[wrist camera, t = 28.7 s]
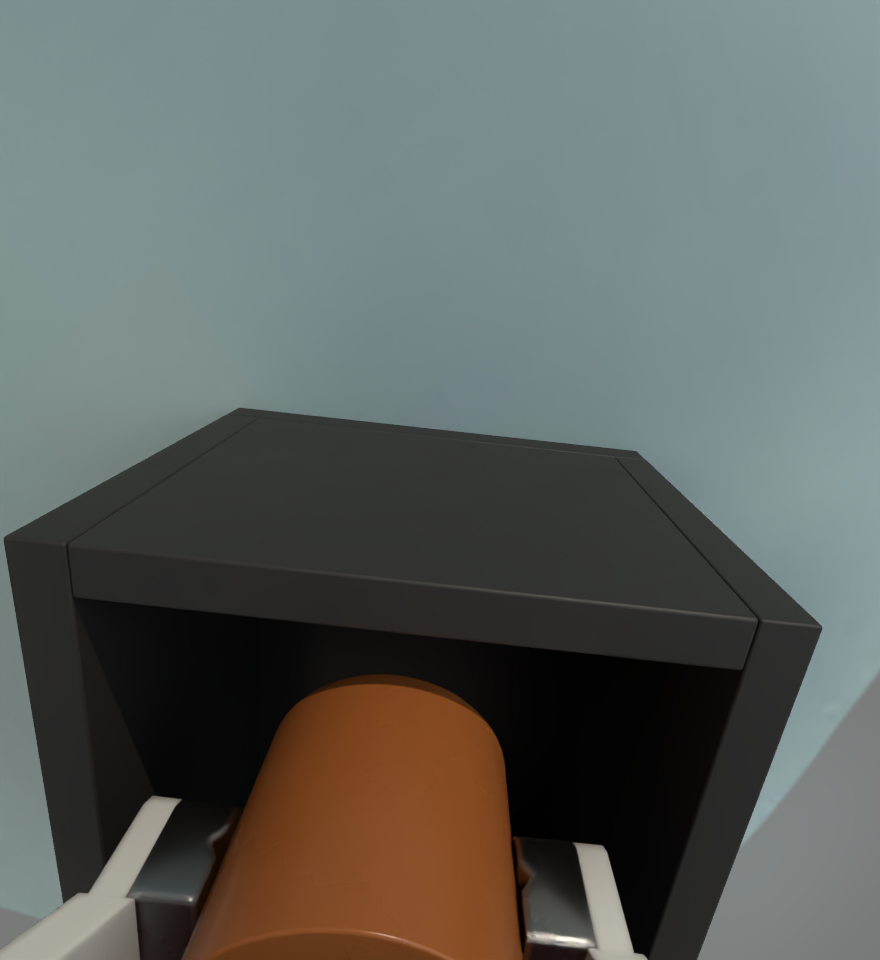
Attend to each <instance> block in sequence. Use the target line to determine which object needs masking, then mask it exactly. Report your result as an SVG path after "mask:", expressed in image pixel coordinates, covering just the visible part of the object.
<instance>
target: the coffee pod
mask: <svg viewBox="0 0 880 960" xmlns="http://www.w3.org/2000/svg"><path fill="white" fill-rule="evenodd" d="M181 960H523V956H522V945H521V934H520V923H519V913H518V902H517V891H516V880H515V870H514V859H513V848H512V837H511V827H510V816H509V805H508V794H507V784H506V773H505V762H504V758H503V754H502V749H501V747H500V745H499V742H498V740H497V737H496V736H495V734H494V732H493V731H492V729H491V728H490V726H489V725H488V723H487V722H486V721H485V720H484V718H483V717H482V716H481V715H480V714H479V713H478V712H477V711H476V710H475V709H474V708H473V707H472V706H471V705H470V704H468V703H467V702H466V701H464V700H463V699H461V698H460V697H459V696H457V695H455V694H454V693H452V692H450V691H448V690H446V689H444V688H442V687H440V686H438V685H435V684H433V683H430V682H427V681H424V680H420V679H417V678H413V677H407V676H401V675H393V674H367V675H359V676H353V677H348V678H345V679H341V680H338V681H334V682H332V683H330V684H327V685H325V686H323V687H320V688H319V689H317V690H315V691H313V692H312V693H310V694H308V695H307V696H306V697H304V698H303V699H302V700H301V701H299V702H298V703H297V704H296V705H295V706H294V707H293V708H292V709H291V710H290V711H289V712H288V713H287V714H286V716H285V717H284V719H283V720H282V722H281V723H280V725H279V727H278V729H277V731H276V733H275V736H274V738H273V740H272V743H271V745H270V748H269V750H268V752H267V755H266V757H265V760H264V762H263V764H262V767H261V769H260V772H259V774H258V776H257V779H256V781H255V784H254V786H253V788H252V791H251V793H250V796H249V798H248V800H247V803H246V805H245V808H244V810H243V812H242V815H241V817H240V820H239V822H238V824H237V827H236V829H235V832H234V834H233V837H232V839H231V841H230V844H229V846H228V849H227V851H226V853H225V856H224V858H223V861H222V863H221V865H220V868H219V870H218V873H217V875H216V877H215V880H214V882H213V885H212V887H211V889H210V892H209V894H208V897H207V899H206V901H205V904H204V906H203V909H202V911H201V913H200V916H199V918H198V921H197V923H196V925H195V928H194V930H193V933H192V935H191V937H190V940H189V942H188V945H187V947H186V949H185V952H184V954H183V957H182V959H181Z"/></svg>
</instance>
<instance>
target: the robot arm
mask: <svg viewBox="0 0 880 960" xmlns="http://www.w3.org/2000/svg"><path fill="white" fill-rule="evenodd" d="M242 812H243V808H241V807H234V806H227V805H220V804H213V803H206V802H199V801H192V800H185V799H176V798H168V797H160V796H152V797H151V798H149V799H148V800H147V801H146V802H145V803H144V804H143V805H142V807H141V809H140V810H139V812H138V814H137V815H136V817H135V818H134V820H133V822H132V823H131V825H130V827H129V828H128V830H127V831H126V833H125V835H124V836H123V838H122V840H121V841H120V843H119V844H118V846H117V848H116V849H115V851H114V852H113V854H112V856H111V857H110V859H109V861H108V862H107V864H106V865H105V867H104V869H103V870H102V872H101V874H100V875H99V877H98V878H97V880H96V882H95V883H94V885H93V887H92V888H91V890H90V891H89V893H78V894H76V895H75V896H73V897H72V898H71V899H69V900H68V901H66V902H65V903H64V904H62V905H61V906H60V907H58V908H57V909H55V910H54V911H53V912H51V913H50V914H49V915H47V916H46V917H44V918H43V919H42V920H40V921H39V922H38V923H36V924H35V925H33V926H32V927H31V928H29V929H28V930H27V931H25V932H24V933H22V934H21V935H20V936H18V937H17V938H16V939H14V940H13V941H11V942H10V943H9V944H7V945H6V946H4V947H3V948H2V949H0V960H181V959H182V957H183V954H184V952H185V949H186V947H187V945H188V942H189V940H190V937H191V935H192V933H193V930H194V928H195V925H196V923H197V921H198V918H199V916H200V913H201V911H202V909H203V906H204V904H205V901H206V899H207V897H208V894H209V892H210V889H211V887H212V885H213V882H214V880H215V877H216V875H217V873H218V870H219V868H220V865H221V863H222V861H223V858H224V856H225V853H226V851H227V849H228V846H229V844H230V841H231V839H232V837H233V834H234V832H235V829H236V827H237V824H238V822H239V820H240V817H241V815H242ZM512 848H513V859H514V870H515V880H516V891H517V902H518V913H519V923H520V934H521V945H522V956H523V960H648V959H647V958H646V957H645V955H644V954H638V953H634V951H633V947H632V943H631V940H630V936H629V932H628V928H627V925H626V921H625V917H624V913H623V910H622V906H621V902H620V898H619V895H618V891H617V887H616V883H615V880H614V876H613V872H612V868H611V865H610V861H609V857H608V853H607V851H606V850H605V848H604V847H603V846H602V845H593V844H584V843H574V842H573V843H572V842H571V841H562V840H551V839H540V838H530V837H519V836H514V837H513V839H512Z"/></svg>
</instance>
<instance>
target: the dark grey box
mask: <svg viewBox="0 0 880 960" xmlns="http://www.w3.org/2000/svg"><path fill="white" fill-rule="evenodd" d="M4 545H5V551H6V557H7V563H8V569H9V575H10V581H11V587H12V594H13V600H14V606H15V612H16V618H17V624H18V630H19V636H20V642H21V648H22V654H23V660H24V667H25V673H26V679H27V685H28V691H29V697H30V703H31V709H32V715H33V721H34V727H35V734H36V740H37V746H38V752H39V758H40V764H41V770H42V776H43V782H44V788H45V794H46V800H47V807H48V813H49V819H50V825H51V831H52V837H53V843H54V849H55V855H56V861H57V867H58V873H59V880H60V886H61V892H62V898H63V904H64V903H65V902H66V901H68V900H69V899H71V898H72V897H73V896H75V895H76V894H78V893H89V891H90V890H91V888H92V887H93V885H94V883H95V882H96V880H97V878H98V877H99V875H100V874H101V872H102V870H103V869H104V867H105V865H106V864H107V862H108V861H109V859H110V857H111V856H112V854H113V852H114V851H115V849H116V848H117V846H118V844H119V843H120V841H121V840H122V838H123V836H124V835H125V833H126V831H127V830H128V828H129V827H130V825H131V823H132V822H133V820H134V818H135V817H136V815H137V814H138V812H139V810H140V809H141V807H142V805H143V804H144V803H145V802H146V801H147V800H148V799H149V798H151V797H152V796H160V797H168V798H176V799H185V800H192V801H199V802H206V803H213V804H220V805H227V806H234V807H241V808H243V810H244V808H245V805H246V803H247V800H248V798H249V796H250V793H251V791H252V788H253V786H254V784H255V781H256V779H257V776H258V774H259V772H260V769H261V767H262V764H263V762H264V760H265V757H266V755H267V752H268V750H269V748H270V745H271V743H272V740H273V738H274V736H275V733H276V731H277V729H278V727H279V725H280V723H281V722H282V720H283V719H284V717H285V716H286V714H287V713H288V712H289V711H290V710H291V709H292V708H293V707H294V706H295V705H296V704H297V703H298V702H299V701H301V700H302V699H303V698H304V697H306V696H307V695H308V694H310V693H312V692H313V691H315V690H317V689H319V688H320V687H323V686H325V685H327V684H330V683H332V682H334V681H338V680H341V679H345V678H348V677H353V676H359V675H367V674H393V675H401V676H407V677H413V678H417V679H420V680H424V681H427V682H430V683H433V684H435V685H438V686H440V687H442V688H444V689H446V690H448V691H450V692H452V693H454V694H455V695H457V696H459V697H460V698H461V699H463V700H464V701H466V702H467V703H468V704H470V705H471V706H472V707H473V708H474V709H475V710H476V711H477V712H478V713H479V714H480V715H481V716H482V717H483V718H484V720H485V721H486V722H487V723H488V725H489V726H490V728H491V729H492V731H493V732H494V734H495V736H496V737H497V740H498V742H499V745H500V747H501V749H502V754H503V758H504V762H505V773H506V784H507V794H508V805H509V816H510V827H511V837H512V839H513V837H514V836H519V837H530V838H540V839H551V840H562V841H571V842H572V843H573V842H574V843H584V844H593V845H602V846H603V847H604V848H605V850H606V851H607V853H608V857H609V861H610V865H611V868H612V872H613V876H614V880H615V883H616V887H617V891H618V895H619V898H620V902H621V906H622V910H623V913H624V917H625V921H626V925H627V928H628V932H629V936H630V940H631V943H632V947H633V951H634V953H638V954H644V955H645V957H646V958H647V959H648V960H697V958H698V955H699V952H700V950H701V948H702V945H703V942H704V940H705V937H706V934H707V932H708V929H709V926H710V924H711V921H712V918H713V916H714V913H715V910H716V908H717V905H718V903H719V900H720V897H721V895H722V892H723V889H724V887H725V884H726V882H727V879H728V876H729V874H730V871H731V868H732V866H733V863H734V860H735V858H736V855H737V853H738V850H739V847H740V845H741V842H742V839H743V837H744V834H745V831H746V829H747V826H748V823H749V821H750V818H751V816H752V813H753V810H754V808H755V805H756V802H757V800H758V797H759V794H760V792H761V789H762V786H763V784H764V781H765V779H766V776H767V773H768V771H769V768H770V765H771V763H772V760H773V757H774V755H775V752H776V750H777V747H778V744H779V742H780V739H781V736H782V734H783V731H784V728H785V726H786V723H787V720H788V718H789V715H790V713H791V710H792V707H793V705H794V702H795V699H796V697H797V694H798V691H799V689H800V686H801V684H802V681H803V678H804V676H805V673H806V670H807V668H808V665H809V662H810V660H811V657H812V654H813V652H814V649H815V647H816V644H817V641H818V639H819V636H820V633H821V631H822V626H821V625H820V624H819V623H818V622H817V621H816V620H815V619H814V618H813V617H812V616H811V615H810V614H809V613H807V612H806V611H805V610H804V609H803V608H802V607H801V606H800V605H799V604H798V603H797V602H796V601H795V600H794V599H793V598H792V597H790V596H789V595H788V594H787V593H786V592H785V591H784V590H783V589H782V588H781V587H780V586H779V585H778V584H777V583H776V582H775V581H774V580H772V579H771V578H770V577H769V576H768V575H767V574H766V573H765V572H764V571H763V570H762V569H761V568H760V567H759V566H758V565H757V564H756V563H754V562H753V561H752V560H751V559H750V558H749V557H748V556H747V555H746V554H745V553H744V552H743V551H742V550H741V549H740V548H739V547H737V546H736V545H735V544H734V543H733V542H732V541H731V540H730V539H729V538H728V537H727V536H726V535H725V534H724V533H723V532H722V531H721V530H719V529H718V528H717V527H716V526H715V525H714V524H713V523H712V522H711V521H710V520H709V519H708V518H707V517H706V516H705V515H704V514H703V513H701V512H700V511H699V510H698V509H697V508H696V507H695V506H694V505H693V504H692V503H691V502H690V501H689V500H688V499H687V498H686V497H684V496H683V495H682V494H681V493H680V492H679V491H678V490H677V489H676V488H675V487H674V486H673V485H672V484H671V483H670V482H669V481H668V480H666V479H665V478H664V477H663V476H662V475H661V474H660V473H659V472H658V471H657V470H656V469H655V468H654V467H653V466H652V465H651V464H650V463H648V462H647V461H646V460H645V459H644V458H643V457H642V456H641V455H640V454H639V453H638V452H636V451H628V450H619V449H610V448H601V447H591V446H582V445H573V444H564V443H555V442H546V441H537V440H527V439H518V438H509V437H500V436H491V435H482V434H473V433H464V432H454V431H445V430H436V429H427V428H418V427H409V426H400V425H390V424H381V423H372V422H363V421H354V420H345V419H336V418H327V417H317V416H308V415H299V414H290V413H281V412H272V411H263V410H253V409H244V408H238V409H236V410H234V411H233V412H231V413H229V414H228V415H225V416H223V417H222V418H220V419H218V420H216V421H214V422H212V423H211V424H209V425H207V426H205V427H203V428H201V429H200V430H198V431H196V432H194V433H192V434H191V435H189V436H187V437H185V438H183V439H181V440H180V441H178V442H176V443H174V444H172V445H171V446H169V447H167V448H165V449H163V450H161V451H160V452H158V453H156V454H154V455H152V456H151V457H149V458H147V459H145V460H143V461H141V462H140V463H138V464H136V465H134V466H132V467H131V468H129V469H127V470H125V471H123V472H121V473H120V474H118V475H116V476H114V477H112V478H111V479H109V480H107V481H105V482H103V483H101V484H100V485H98V486H96V487H94V488H92V489H90V490H89V491H87V492H85V493H83V494H81V495H80V496H78V497H76V498H74V499H72V500H70V501H69V502H67V503H65V504H63V505H61V506H60V507H58V508H56V509H54V510H52V511H50V512H49V513H47V514H45V515H43V516H41V517H40V518H38V519H36V520H34V521H32V522H30V523H29V524H27V525H25V526H23V527H21V528H20V529H18V530H16V531H14V532H12V533H10V534H9V535H7V536H5V537H4Z"/></svg>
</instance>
